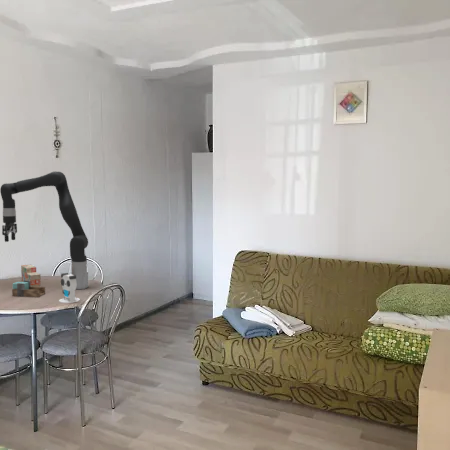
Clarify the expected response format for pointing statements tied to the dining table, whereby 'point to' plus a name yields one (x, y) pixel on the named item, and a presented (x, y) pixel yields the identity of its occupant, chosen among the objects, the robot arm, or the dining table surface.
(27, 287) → the block
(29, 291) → the wooden rail tray
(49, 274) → the dining table surface
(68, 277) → the panda figurine
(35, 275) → the stack of blocks
